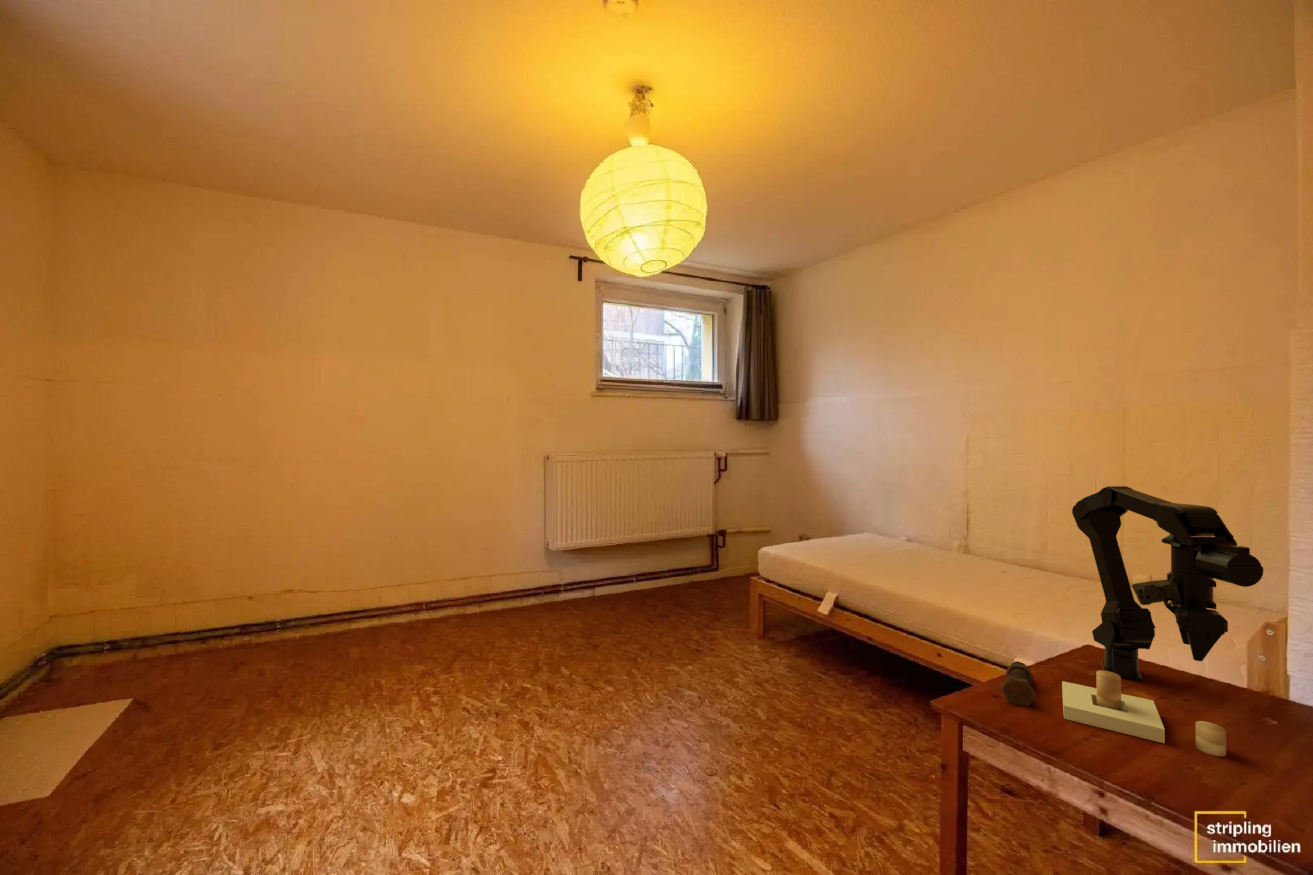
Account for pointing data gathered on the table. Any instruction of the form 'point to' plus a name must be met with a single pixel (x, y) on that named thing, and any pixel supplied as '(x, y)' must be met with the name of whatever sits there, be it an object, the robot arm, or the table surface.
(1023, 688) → the bolt
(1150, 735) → the board
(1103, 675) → the long pin
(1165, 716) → the table surface
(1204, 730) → the short pin
